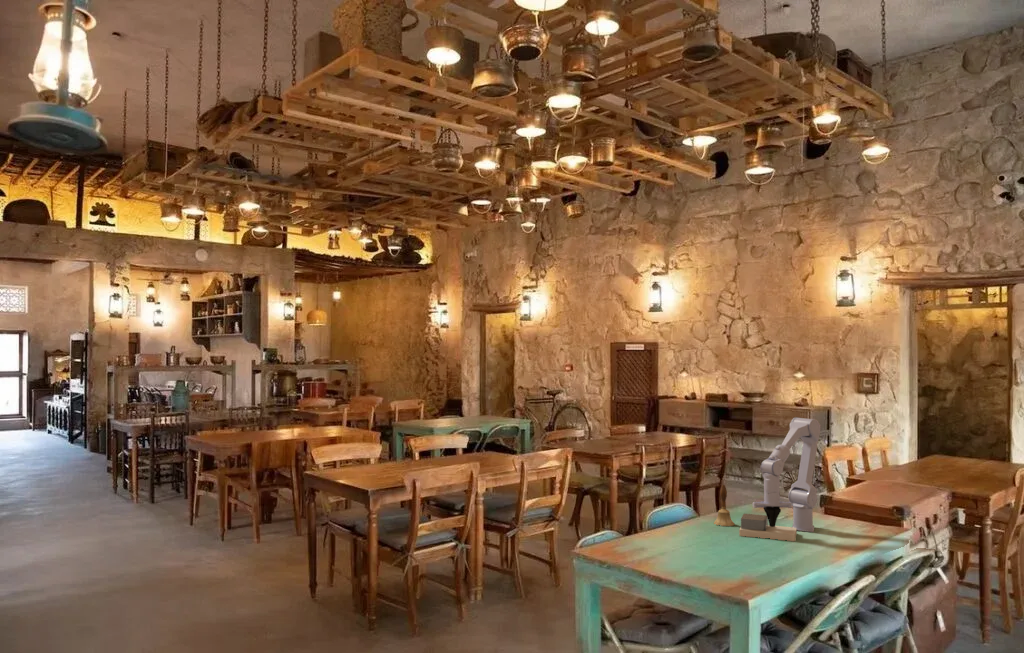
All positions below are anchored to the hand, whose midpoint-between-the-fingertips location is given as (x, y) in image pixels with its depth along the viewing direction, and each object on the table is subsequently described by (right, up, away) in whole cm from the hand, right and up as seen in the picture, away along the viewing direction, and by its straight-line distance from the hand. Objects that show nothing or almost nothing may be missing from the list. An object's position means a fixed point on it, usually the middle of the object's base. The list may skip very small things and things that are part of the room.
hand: (772, 526), depth 280 cm
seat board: (-1, -3, +1) cm, 4 cm away
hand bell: (-13, -4, +18) cm, 23 cm away
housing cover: (-6, -1, +3) cm, 7 cm away
